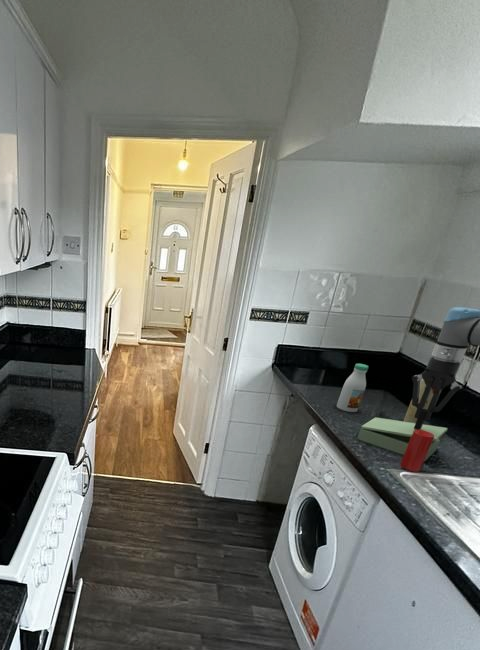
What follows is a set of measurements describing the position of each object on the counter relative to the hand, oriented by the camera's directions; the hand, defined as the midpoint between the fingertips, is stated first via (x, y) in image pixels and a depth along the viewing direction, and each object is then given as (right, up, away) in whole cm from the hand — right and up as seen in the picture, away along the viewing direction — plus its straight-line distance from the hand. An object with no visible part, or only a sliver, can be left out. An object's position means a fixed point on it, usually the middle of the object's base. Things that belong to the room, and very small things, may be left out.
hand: (417, 428), depth 137 cm
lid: (-2, -1, +3) cm, 4 cm away
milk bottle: (-2, +6, +36) cm, 36 cm away
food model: (+16, 0, +24) cm, 29 cm away
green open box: (-3, -7, +6) cm, 10 cm away
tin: (-8, -12, -7) cm, 16 cm away
